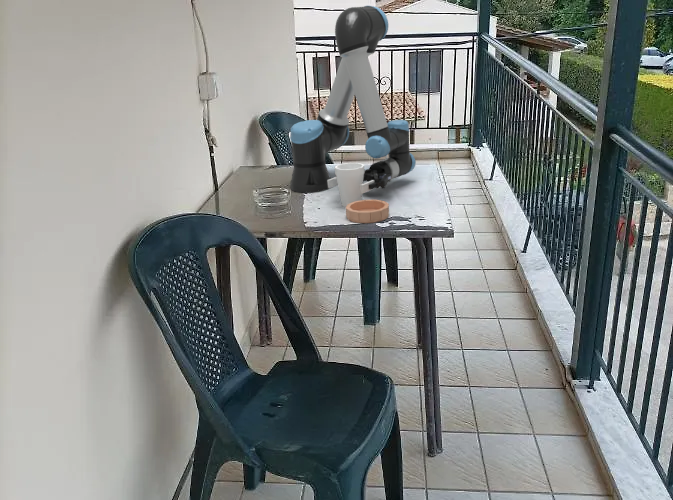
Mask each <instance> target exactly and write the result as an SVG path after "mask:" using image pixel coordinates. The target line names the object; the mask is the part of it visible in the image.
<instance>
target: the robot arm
mask: <svg viewBox="0 0 673 500" xmlns="http://www.w3.org/2000/svg"><path fill="white" fill-rule="evenodd" d="M334 27H335V28H334V34H335V35H334V36H335V42H336V43H335V44H336V47H337V51H338V55H339V57H340V58H341V60H340V62H339V65H338V68H337V71H336V74H335V77H334V80H333V83H332V86H331V90H330V91H329V94H328V98H327V102H326V104H325V107H324V108H322V109H320V110H319V111H318V115H317V118H316V119H308V120H304V121H299V122H296V123H294V124H292V126H291V128H290V143H291V153H292V163H293V168H292V169H293V170H292V174H291V180H290V190H291V191H293V192H297V193H317V192H322V191H326V190H328V189H331V188H334V187H337V186H338V182H337V177H336V175H335V174H334V175H335V176H334V177H333V178H332V177H331V176H330V173H329V170H328V168H327V164H326V153H329V152H331V151H334V150H337V149H339V148H341V147H343V146H344V145H345V144H346V142H348V139H349V137H350V128H349V123H350V119H349V117H348V115H349V111H350V109H351V106H352V103H353V100H354V98H355V99H356V103H357V106H358V109H359V112H360V116H361V118H362V122H363V125H364V129H365V132H366V136H367V140H366V142H365V147H364V148H365V151H366V154H367V155H368V156H369V157H370V158H372V159H381V158H383V159H381V160H379V161H376V162H374V163H371V165H370V166H369V167H368V169H364V171H365V172H364V178H363V184H362V185H360V192H361V194H362V195H363V194H364V193H368V192H370V191H372V190H374V189H385V188H386V187H387V185H388V183H389V182H392V180H394V179H396V178H399V177H401V176H405V175H408V174H409V173H410V172H412V171H413V170H414V169H415V167H416V159H415V156H414V154H412V153H411V151H410V127H409V122H408V121H407V120H405V119H396V120H395V119H393V120H388V121H389V122H388V124H387V121H386V120H387V118H386V115H385V112H384V107H383V105H382V101H381V97H380V94H379V91H378V88H377V87H378V86H377V84H376V81H375V80H376V79H375V77H374V73H373V70H372V66H371V63H370V60H369V56H371V55H373V54H374V53H376V50H377V47H378V45H379V42H381V41H382V40H383V39H384V38H385V37H386V35H387V33H388V31H389V20H388V17H387V15H386V13H385V12H384V11H383V10H382V9H381V8H379V7H377V6H373V5H364V6H354V7H353V6H352V7H349V8H346V9H345V10H343V11H342V12H341V13H340V14H339V15H338V17H337V19H336V21H335V26H334ZM386 155H387V156H388V157H387V158H384V157H385V156H386Z"/></svg>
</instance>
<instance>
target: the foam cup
mask: <svg viewBox="0 0 673 500" xmlns="http://www.w3.org/2000/svg"><path fill="white" fill-rule="evenodd" d="M364 172H365V164H363V163H360V162H346V163H345V162H344V163H339V164H337V165H335V166H334V175H336V176H335V177H337V182H338V185H337V186H338V191H339V197H340V201H341V205H342V207H343V208H346V206H347V204H350V203H352V202H355V201H360V200H363V194H361V192H360V185H362V184H364V181H363V178H364Z"/></svg>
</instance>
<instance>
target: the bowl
mask: <svg viewBox="0 0 673 500" xmlns="http://www.w3.org/2000/svg"><path fill="white" fill-rule="evenodd" d="M345 215H346V219H347V220H348V221H350V222H351V223H357V224H373V223H379V222H383V221H385V220H387V219H388V218H389V217H390V204H389V203H388V202H387V201H386V200H385V201H384V200H380V199H362V200H360V201H355V202H352V203H350V204H347V206H346V207H345Z"/></svg>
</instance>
